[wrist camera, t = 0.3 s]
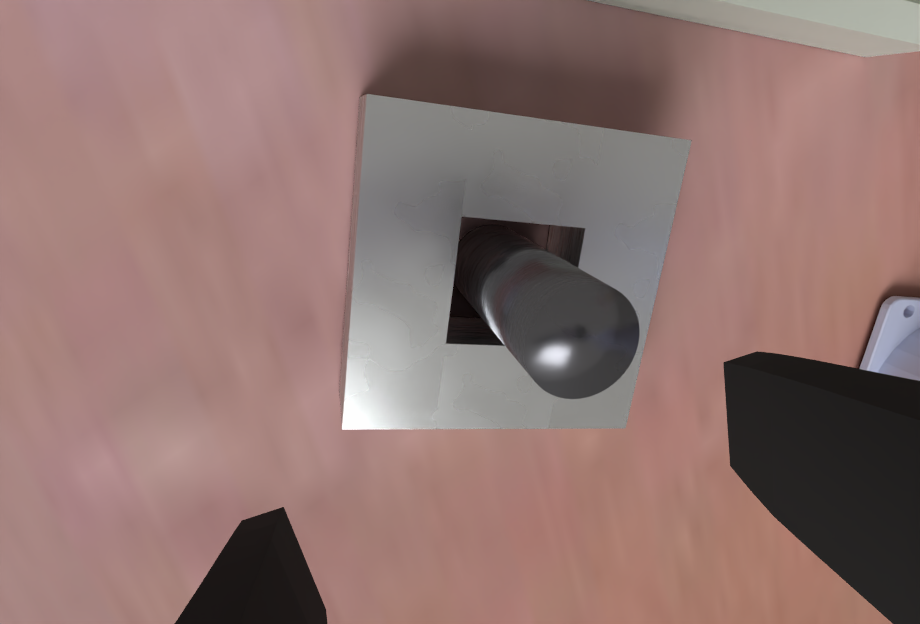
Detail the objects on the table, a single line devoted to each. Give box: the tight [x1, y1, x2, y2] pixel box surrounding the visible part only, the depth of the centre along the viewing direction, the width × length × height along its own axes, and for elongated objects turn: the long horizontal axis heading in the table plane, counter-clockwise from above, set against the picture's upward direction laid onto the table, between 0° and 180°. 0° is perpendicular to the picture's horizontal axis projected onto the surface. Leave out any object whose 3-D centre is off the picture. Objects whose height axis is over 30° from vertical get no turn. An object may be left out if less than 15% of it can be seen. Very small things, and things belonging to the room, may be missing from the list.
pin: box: [454, 225, 640, 399], centre depth 15 cm, size 3×3×7 cm
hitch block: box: [339, 94, 692, 429], centre depth 17 cm, size 9×9×2 cm
